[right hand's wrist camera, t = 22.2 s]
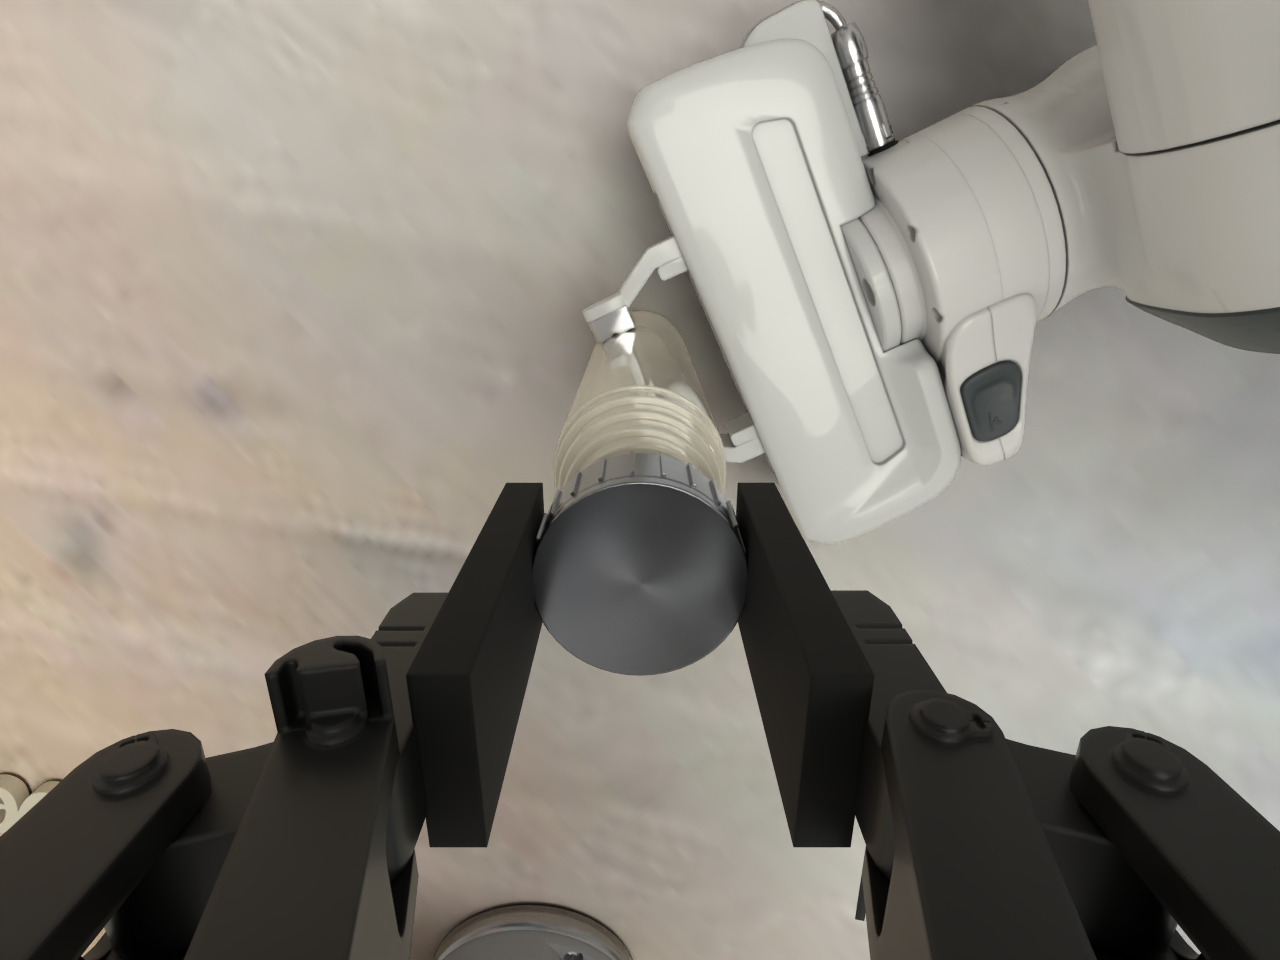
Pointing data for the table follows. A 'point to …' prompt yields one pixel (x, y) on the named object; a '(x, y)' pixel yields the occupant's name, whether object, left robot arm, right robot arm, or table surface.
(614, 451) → the bottle
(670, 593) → the cap
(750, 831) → the table surface
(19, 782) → the decorative sign
